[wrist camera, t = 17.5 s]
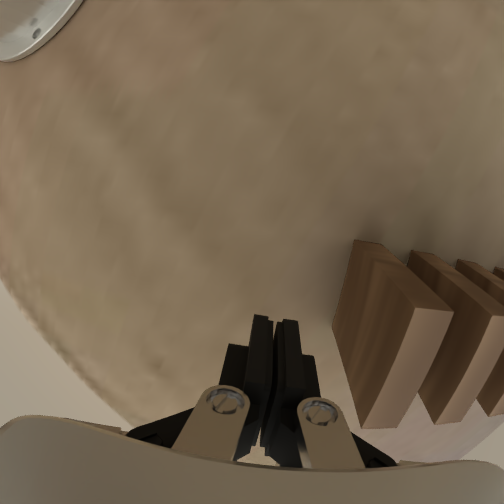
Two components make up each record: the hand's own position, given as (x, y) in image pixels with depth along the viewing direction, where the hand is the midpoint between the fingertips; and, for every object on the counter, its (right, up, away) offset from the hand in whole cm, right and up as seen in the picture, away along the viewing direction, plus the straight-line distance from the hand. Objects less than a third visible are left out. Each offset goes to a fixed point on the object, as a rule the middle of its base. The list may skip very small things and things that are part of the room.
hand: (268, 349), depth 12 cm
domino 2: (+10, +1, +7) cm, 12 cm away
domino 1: (+6, +2, +7) cm, 9 cm away
